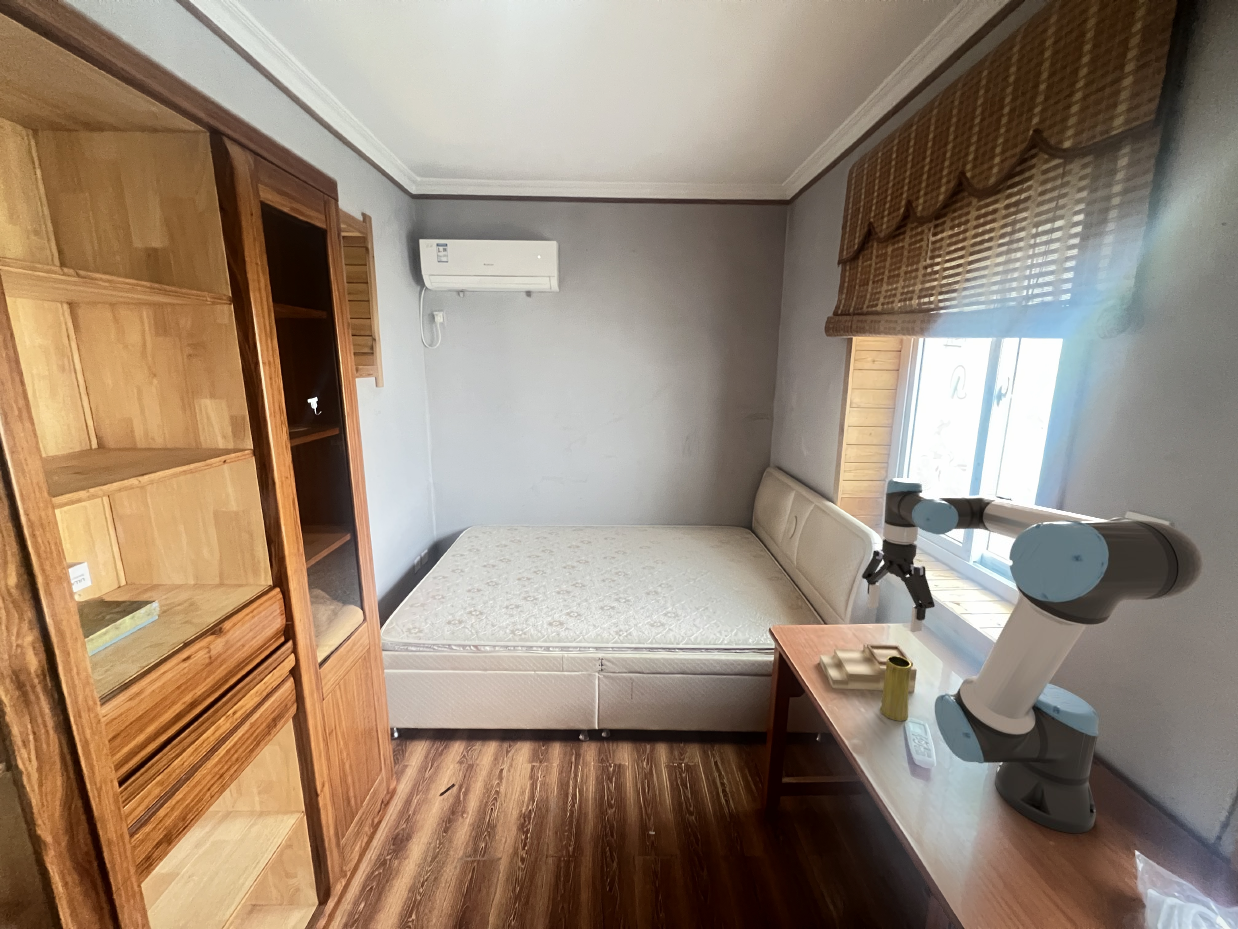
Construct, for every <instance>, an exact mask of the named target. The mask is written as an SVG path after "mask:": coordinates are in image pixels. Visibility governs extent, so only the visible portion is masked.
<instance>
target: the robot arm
mask: <svg viewBox="0 0 1238 929" xmlns="http://www.w3.org/2000/svg"><path fill="white" fill-rule="evenodd" d="M922 484H923V483H922V482H921V481H919V480H917V479H913V478H905V477H897V478H895V477H893V478H891V479H889V480H888V481H887V486H886V492H885V504H884V520H883V521H884V522H883V532H882V537H883V539H882V544H881V546H882V547H881V549H878V550H877V549H875V550H873V552H872V558H871V559H870V561H869V563H868V565H867V566H866V568H865V569H864V571H863V573H862V575H861V578H862V579H863V580H865V581H866V583H867V595H868V600H867V608H868V609H874V608H878V607H879V599H880V587H881V586H880V584H879V581H880V580H882V579H883V578H884V577H885V576H886V575H887V574H888V573H889V574H890V575H894V576H896V577H897V578H900V580H901V582H903V583H904V585H905V586H906V589H907V591H908V594H909V595H910V597H911V599H912V602H913V603H914V605H912V607H911V608H912V610H911V621H910V631H909V632H912V633H916V632H920V631H921V632H922V631H923V630H922V629H923V621H925V620H926V612H927V609H932V608H935V606H936V604H935V602H934V599H933V595H932V591H931V589H930V586H929V583H928V579H927V576H926V566H924V565H915V562H914V560H915V558H916V556H917V546H918V544H917V541H918V533H919V529H920V530H922V531H924V532H926V533H931V534H933V535H945V534H947V533H949V532H951V531H953V530H984V531H987V532H991V533H993V534H997V535H1002V536H1005V537H1009V538H1012V539H1015V540H1014V541H1013V543H1012V546H1011V548H1010V552H1009V561H1011V562H1012V563H1011V564H1010V565H1009V570H1010V574H1011V576H1012V579H1013V580H1014V582H1015V586H1016V589H1017V591H1018V593H1019V594H1020V597H1019V599H1018V600H1017V602H1016V604H1015V605H1014V608H1013V610H1012V611H1011V613H1010V615H1009V617H1008V619H1007V620H1006V623H1005V625H1004V626H1003V628H1002V629H1001V631H1000V633H999V635H998V637H997V639H996V641H995V643H994V644H993V646H992V648H991V650H990V652H989V654H988V655H987V657H986V659H985V661H984V663H983V665H982V667H981V669H980V670H979V672H978V674H977V675H974V676H969V677H967V678H965V679H964V680H963V681H962V682H961V684H960V686H959V688H958V690H957V692H956V693H953V694H950V693H947V692H945V693H944V694H940V695H939V696H937V697H936V699H935V701H934V716H935V720H936V724H937V727H938V730H939V732H940V735H941V737H942V739H943V741H944V743H945V744H946V746H947V747H948V749H949V751H950V752H952V754H953V755H955V757H957V758H958V759H960V760H962V761H964V762H967V763H978V764H981V765H982V764H984V763H985V764H987V763H991V764H992V763H994V764H995V763H997V764H999V765H997V767H996V771H995V776H994V783H995V784H994V785H995V787H996V789H997V791H998V793H999V794H1000V796H1001V797H1002V798H1003V799H1004V800H1005V802H1006V803H1007V804H1009V805H1010V806H1011V807H1012V808H1013V809H1015V810H1016V811H1017V812H1018V813H1020V814H1021V815H1023V816H1024V817H1026V818H1028V819H1030V820H1031V821H1033V822H1035V823H1036V824H1039V825H1041V826H1044V827H1047V828H1049V829H1051V830H1054V831H1058V832H1062V833H1067V834H1083V833H1087V832H1089V831H1090V830H1091V829H1092V828H1093V827H1094V825H1095V819H1096V815H1097V814H1096V813H1097V810H1096V805H1095V802H1094V798H1093V795H1092V791H1091V787H1090V783H1089V779H1090V773H1091V770H1092V764H1093V760H1094V755H1095V749H1096V745H1097V740H1098V737H1099V734H1100V732H1099V722H1100V718H1099V715H1098V713H1097V711H1096V710H1095V709H1094V707H1093V706H1091V705H1090V704H1089V703H1088V702H1087V701H1086V700H1084V699H1082V698H1081V697H1080V696H1078V695H1076V694H1074V693H1072V692H1070V691H1068V690H1066V689H1065V688H1061V686H1060V687H1059V686H1057V685H1053V684H1052V683H1050V682H1051V680H1052V678H1053V677H1054V675H1055V674H1056V672H1058V670H1059V668H1060V667H1061V665H1062V663H1063V662H1064V660H1065V659H1066V657H1067V656H1068V654H1069V653H1070V651H1071V650H1072V648H1073V646H1074V645H1075V644H1076V642H1077V641H1078V639H1079V638H1080V637H1081V635H1082V633H1083V632H1084V630H1086V627H1094V626H1095V627H1096V626H1100V625H1103V624H1104V623H1106V622H1107V620H1108V619H1109V618H1110V616H1111V615H1112V613H1113V612H1114V611H1115V609H1116V608H1117V606H1118V605H1119V604H1120V602H1123V601H1139V600H1140V601H1141V600H1146V601H1147V600H1161V599H1168V598H1171V597H1174V596H1177V595H1180V594H1183V593H1184V592H1186V591H1187V590H1189V589H1190V588H1192V587H1193V585H1194V584H1196V582H1198V580H1199V578H1200V576H1201V574H1202V571H1203V565H1204V564H1203V556H1202V554H1201V552H1200V549H1199V548H1198V545H1197V544H1196V543H1195V542H1194V541H1193V540H1192V539H1191V538H1190V537H1189V536H1188V535H1187V534H1185V533H1184V532H1182V531H1180V530H1179V529H1178V528H1175V527H1173V526H1171V525H1169V524H1165V523H1162V522H1158V521H1153V520H1152V521H1150V520H1140V519H1135V518H1129V517H1123V516H1122V517H1120V516H1119V517H1113V518H1110V519H1104V518H1096V517H1093V516H1089V515H1082V514H1077V513H1074V512H1073V513H1072V512H1067V511H1063V510H1057V509H1053V508H1048V507H1043V506H1038V505H1033V504H1027V503H1022V502H1017V501H1014V500H1013V499H1012V498H1011V497H1009V496H1006V495H998V494H997V495H996V494H987V495H966V496H965V495H964V496H963V495H958V496H957V495H953V496H952V495H948V496H945V495H942V496H938V495H936V496H933V495H928V494H924V493H922V492H923V487H922V486H923V485H922ZM882 562H883V564H882V565H881V563H882ZM880 565H881V566H880ZM879 566H880V567H879Z"/></svg>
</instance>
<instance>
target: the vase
mask: <svg viewBox="0 0 1238 929" xmlns="http://www.w3.org/2000/svg"><path fill="white" fill-rule="evenodd" d="M910 675H911V663H910V662H909V661H908V660H907V659H905V658H903V657H900V656H889V657H888V658H887V663H886V673H885V681H884V688H883V690H882V698H881V705H880V707H879V708H880V712H881V713H882V714H883V715H884V716H885V717H887V718H888V719H890V720H893V721H896V722H897V721H898V722H904V721H906V720H908V718H909V684H910Z"/></svg>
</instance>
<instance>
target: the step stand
mask: <svg viewBox="0 0 1238 929" xmlns="http://www.w3.org/2000/svg"><path fill="white" fill-rule="evenodd" d="M889 656H900V657H903V658H905V659H907V660H908V661H909V662H910V663H911V675H910V684H909V692H910V693H913V692H914V693H915V688H916V679H917V668H916V667H915V666H914V663H913V661H912V659H910V658H909V657H908V655H907V654H906V653H905V651H903V649H902V648H901V646H899V645H897V644H883V643H882V644H880V643H863V646H862V649H845V648H842V649H841V648H834V652H833V654H819V661H818V662H819V664H820V667H821V668H822V670H823V672H824V675H825V676H826V678H827V680H828V682H829V684H830V686H831V688H832V689H841V690H842V689H845V690H866V691H867V690H869V691H883V688H884V681H885V673H886V663H887V658H888V657H889ZM909 692H908V693H909Z"/></svg>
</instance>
